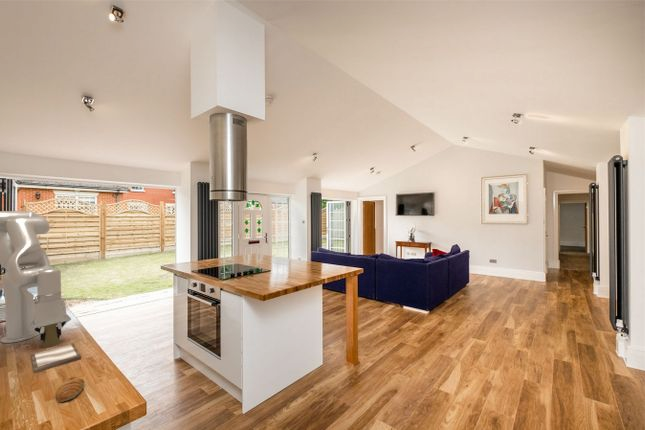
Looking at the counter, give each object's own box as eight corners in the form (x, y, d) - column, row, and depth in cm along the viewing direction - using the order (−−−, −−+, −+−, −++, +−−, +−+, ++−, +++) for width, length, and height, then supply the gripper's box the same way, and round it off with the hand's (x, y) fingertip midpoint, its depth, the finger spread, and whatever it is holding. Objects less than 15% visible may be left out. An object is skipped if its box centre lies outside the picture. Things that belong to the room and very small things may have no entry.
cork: (48, 348, 124) (47, 322, 124) (37, 347, 125) (36, 321, 125) (63, 342, 130) (63, 317, 130) (53, 341, 131) (52, 316, 131)
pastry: (81, 398, 90) (81, 386, 90) (52, 407, 86) (51, 394, 86) (85, 383, 98) (84, 372, 98) (57, 391, 94) (57, 379, 94)
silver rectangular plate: (31, 356, 117) (30, 353, 117) (73, 345, 127) (73, 342, 127) (34, 372, 105) (34, 369, 105) (81, 358, 114) (81, 355, 114)
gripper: (23, 304, 119) (24, 349, 119) (76, 294, 132) (77, 335, 132) (21, 300, 124) (22, 344, 124) (72, 291, 136) (73, 331, 137)
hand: (51, 339), depth 128 cm, fingers closed on cork, 3 cm apart
